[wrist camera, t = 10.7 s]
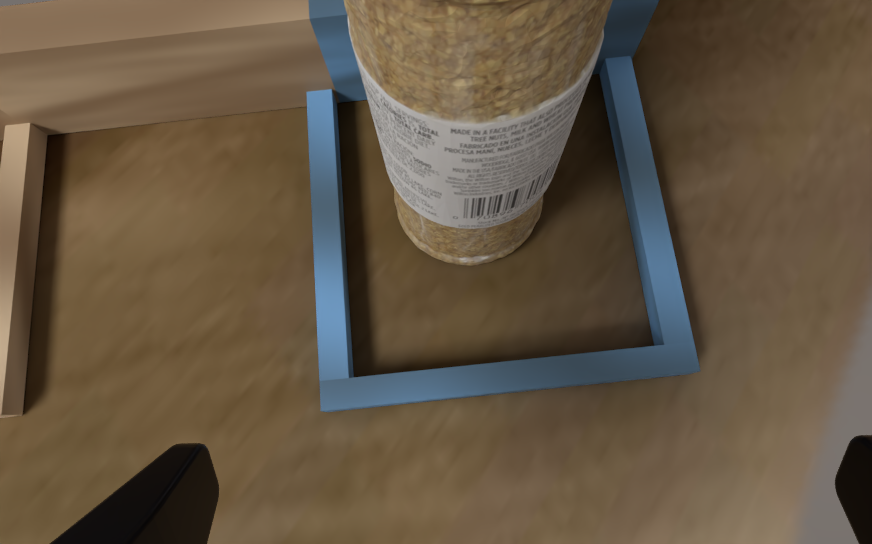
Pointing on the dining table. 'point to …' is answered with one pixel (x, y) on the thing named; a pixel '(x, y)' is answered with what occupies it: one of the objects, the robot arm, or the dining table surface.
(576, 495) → the dining table surface
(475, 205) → the sprinkles bottle
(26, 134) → the bay rail
